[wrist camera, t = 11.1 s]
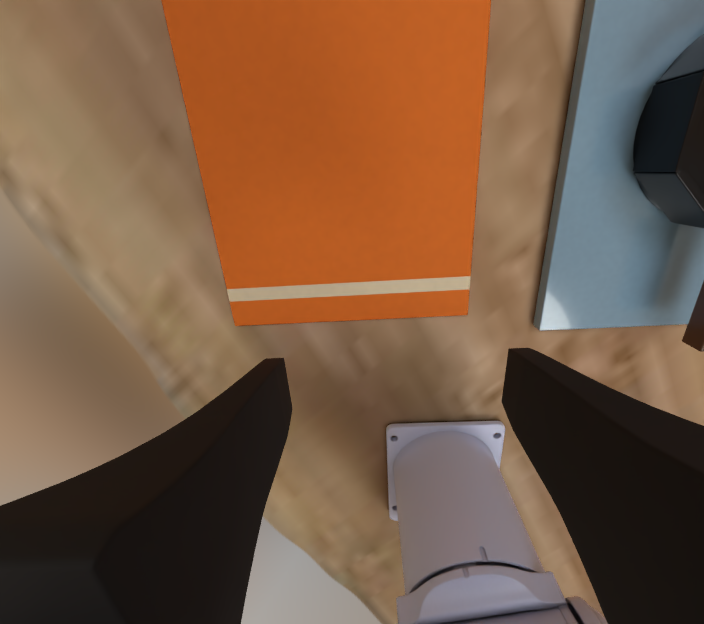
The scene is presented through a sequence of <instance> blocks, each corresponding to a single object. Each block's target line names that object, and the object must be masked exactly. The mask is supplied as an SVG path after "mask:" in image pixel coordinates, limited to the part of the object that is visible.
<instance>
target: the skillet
mask: <svg viewBox="0 0 704 624" xmlns="http://www.w3.org/2000/svg"><path fill="white" fill-rule="evenodd" d="M655 84H656V85H654V86H653V89H652V93H651V94H650V96H649V98H648V100H647V102H646V104H645V106H644V109H643V111H642V114H641V116H640V119H639V122H638V126H637V129H636V134H635V139H634V146H633V163H634V167H633V171H634V173H633V174H634V175H635V176H636V179H637V182H638V184H639V186H640V189H641V190H642V192H643V193H644V195H645V197H646V198H647V199H648V200H649V201H650V202H651V203H652V204H653V205H654V206H655V207H657V208H658V209H659V210H661V211H663V212H664V214H665V215H666V216H667V218H668V219H669V220H670V222H673V223H676V224H682V225H687V226H693V227H698V228H704V34H703V35H701V36H700V37H699V38H697V39H696V40H695V41H694V42H693V43H692V44H691V45H689V46H688V47H687V48H686V49H685V50H684V51H683V52H682V53H681V54H680V55H679V56H678V57H677V58H676V59H675V60H674V61H673V63H672V64H671V65H670V66H669V68H668V69H667V70H666V71H665V73H664V74H663V75H662V77H661V78H660V79H659V80H658V81H656V82H655ZM682 341H683V342H684V343H686V344H688V345H690V346H691V347H693V348H695V349H697V350H699V351H704V281H703V284H702V287H701V289H700V292H699V295H698V298H697V300H696V303H695V306H694V309H693V312H692V314H691V317H690V320H689V323H688V325H687V328H686V331H685V334H684V336H683V339H682Z"/></svg>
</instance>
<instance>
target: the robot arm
mask: <svg viewBox="0 0 704 624" xmlns="http://www.w3.org/2000/svg"><path fill="white" fill-rule="evenodd" d="M502 404H503V406H504V409H505V411H506V414H507V417H508V419H509V421H510V424H511V426H512V429H513V431H514V432H515V434H516V436H517V438H518V440H519V441H520V443H521V445H522V447H523V448H524V450H525V452H526V454H527V455H528V457H529V459H530V461H531V462H532V464H533V466H534V467H535V469H536V471H537V473H538V474H539V476H540V478H541V480H542V481H543V483H544V485H545V486H546V488H547V490H548V492H549V493H550V495H551V497H552V499H553V501H554V503H555V504H556V506H557V508H558V510H559V512H560V514H561V516H562V518H563V521H564V523H565V525H566V527H567V529H568V532H569V534H570V536H571V538H572V540H573V543H574V545H575V547H576V549H577V551H578V554H579V556H580V558H581V561H582V563H583V565H584V568H585V570H586V572H587V575H588V577H589V579H590V582H591V584H592V586H593V589H594V591H595V593H596V596H597V598H598V601H599V603H600V606H601V608H602V611H603V613H604V616H605V617H604V616H603V615H602V614H601V613H599V612H598V611H597V610H595V609H594V608H592V607H591V606H590V605H588V604H587V603H586V601H584V600H583V599H582V598H580V597H577V596H574V597H568V598H564V596H563V594H562V592H561V590H560V588H559V585H558V583H557V581H556V579H555V577H554V575H553V573H552V572H550V571H549V572H545V571H544V569H543V566H542V564H541V562H540V560H539V557H538V555H537V553H536V551H535V549H534V546H533V544H532V542H531V540H530V537H529V535H528V533H527V531H526V528H525V526H524V524H523V522H522V519H521V517H520V515H519V513H518V510H517V508H516V506H515V504H514V501H513V499H512V497H511V495H510V493H509V490H508V488H507V486H506V484H505V481H504V479H503V477H502V475H501V472H500V470H499V469H500V462H501V455H502V448H503V441H504V434H505V426H504V425H503V423H502V422H501V421H469V422H435V423H401V424H390V425H388V426H387V428H386V438H387V467H388V496H389V517H390V518H391V519H392V520H395V521H398V523H399V534H400V544H401V554H402V565H403V575H404V585H405V595H403V596H399V597H397V598H396V601H397V615H398V624H704V426H702V425H699V424H697V423H694V422H691V421H688V420H686V419H683V418H680V417H678V416H675V415H673V414H670V413H668V412H665V411H662V410H660V409H657V408H655V407H652V406H650V405H647V404H645V403H643V402H640V401H638V400H636V399H633V398H631V397H629V396H627V395H625V394H623V393H620V392H618V391H616V390H614V389H612V388H609V387H607V386H605V385H603V384H601V383H599V382H597V381H595V380H593V379H591V378H589V377H587V376H585V375H583V374H581V373H579V372H577V371H575V370H573V369H571V368H569V367H567V366H566V365H564V364H562V363H560V362H558V361H556V360H554V359H552V358H550V357H548V356H546V355H544V354H542V353H540V352H538V351H535V350H533V349H530V348H513V349H509V351H508V358H507V366H506V373H505V381H504V388H503V396H502ZM291 414H292V403H291V397H290V391H289V385H288V379H287V373H286V367H285V362H284V358H271V359H265V360H263V361H262V362H260V363H259V364H258V365H257V366H255V367H254V368H253V369H252V370H250V371H249V372H248V373H247V374H245V375H244V376H243V377H242V378H241V379H239V380H238V381H237V382H236V383H234V384H233V385H232V386H231V387H229V388H228V389H227V390H226V391H224V392H223V393H222V394H220V395H219V396H218V397H216V398H215V399H214V400H212V401H211V402H209V403H208V404H207V405H205V406H204V407H203V408H201V409H200V410H199V411H197V412H196V413H194V414H193V415H191V416H190V417H188V418H187V419H185V420H184V421H182V422H180V423H179V424H177V425H176V426H174V427H172V428H171V429H169V430H167V431H166V432H164V433H162V434H161V435H159V436H157V437H155V438H153V439H152V440H150V441H148V442H146V443H144V444H142V445H140V446H138V447H137V448H135V449H133V450H131V451H129V452H127V453H125V454H123V455H121V456H119V457H118V458H115V459H113V460H111V461H109V462H107V463H104V464H102V465H101V466H98V467H96V468H94V469H91V470H89V471H87V472H85V473H82V474H80V475H78V476H76V477H74V478H71V479H68V480H66V481H64V482H61V483H59V484H56V485H54V486H51V487H49V488H46V489H44V490H41V491H38V492H35V493H33V494H30V495H28V496H25V497H23V498H20V499H17V500H15V501H12V502H10V503H7V504H4V505H2V506H0V624H241V619H242V613H243V607H244V602H245V597H246V592H247V587H248V582H249V576H250V571H251V567H252V562H253V557H254V551H255V547H256V543H257V538H258V533H259V529H260V525H261V520H262V516H263V512H264V509H265V505H266V502H267V498H268V495H269V492H270V489H271V486H272V483H273V480H274V477H275V474H276V471H277V468H278V465H279V461H280V458H281V455H282V452H283V449H284V446H285V443H286V439H287V436H288V431H289V426H290V420H291ZM495 433H498V434H495ZM494 434H495V435H494ZM391 436H396V437H391ZM605 618H606V619H605Z"/></svg>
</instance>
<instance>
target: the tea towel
mask: <svg viewBox="0 0 704 624" xmlns="http://www.w3.org/2000/svg"><path fill="white" fill-rule="evenodd" d="M162 5H163V9H164V13H165V18H166V22H167V27H168V31H169V36H170V40H171V44H172V49H173V53H174V58H175V62H176V66H177V71H178V75H179V80H180V84H181V89H182V93H183V97H184V102H185V106H186V111H187V115H188V120H189V124H190V128H191V133H192V137H193V142H194V146H195V150H196V155H197V159H198V164H199V168H200V173H201V177H202V181H203V186H204V190H205V195H206V199H207V204H208V208H209V212H210V217H211V221H212V226H213V230H214V234H215V239H216V243H217V248H218V252H219V257H220V261H221V265H222V270H223V274H224V279H225V283H226V288H227V293H228V297H229V301H230V305H231V310H232V314H233V318H234V323H235V326H243V325H265V324H286V323H307V322H328V321H349V320H371V319H392V318H413V317H434V316H455V315H467V314H468V301H469V289H470V274H471V261H472V248H473V234H474V221H475V208H476V194H477V181H478V168H479V154H480V141H481V128H482V114H483V101H484V87H485V74H486V61H487V47H488V34H489V21H490V7H491V0H162Z"/></svg>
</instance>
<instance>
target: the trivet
mask: <svg viewBox="0 0 704 624" xmlns="http://www.w3.org/2000/svg"><path fill="white" fill-rule="evenodd" d="M703 34H704V0H586V1H585V7H584V13H583V20H582V26H581V32H580V38H579V44H578V51H577V57H576V63H575V69H574V75H573V82H572V88H571V94H570V100H569V106H568V113H567V119H566V125H565V131H564V137H563V144H562V150H561V156H560V162H559V168H558V175H557V181H556V187H555V193H554V199H553V206H552V212H551V218H550V224H549V230H548V237H547V243H546V249H545V255H544V261H543V267H542V274H541V280H540V286H539V292H538V298H537V305H536V311H535V317H534V323H533V325H534V326H535V327H536V328H537V329H538V330H539V331H543V330H566V329H588V328H611V327H634V326H657V325H679V324H688V323H689V320H690V317H691V314H692V312H693V309H694V306H695V303H696V300H697V298H698V295H699V292H700V289H701V287H702V284H703V281H704V228H698V227H693V226H687V225H682V224H676V223H673V222H670V220H669V219H668V218H667V216H666V215H665V214H664V212H663V211H661V210H659V209H658V208H657V207H655V206H654V205H653V204H652V203H651V202H650V201H649V200H648V199H647V198H646V197H645V195H644V193H643V192H642V190H641V189H640V186H639V184H638V182H637V179H636V176H635V175H634V174H633V173H634V171H633V167H634V163H633V146H634V139H635V134H636V129H637V126H638V122H639V119H640V116H641V114H642V111H643V109H644V106H645V104H646V102H647V100H648V98H649V96H650V94H651V93H652V89H653V86H654V85H656V84H655V82H656V81H658V80H659V79H660V78H661V77H662V75H663V74H664V73H665V71H666V70H667V69H668V68H669V66H670V65H671V64H672V63H673V61H674V60H675V59H676V58H677V57H678V56H679V55H680V54H681V53H682V52H683V51H684V50H685V49H686V48H687V47H688V46H689V45H691V44H692V43H693V42H694V41H695V40H696V39H697V38H699V37H700V36H701V35H703Z"/></svg>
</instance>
